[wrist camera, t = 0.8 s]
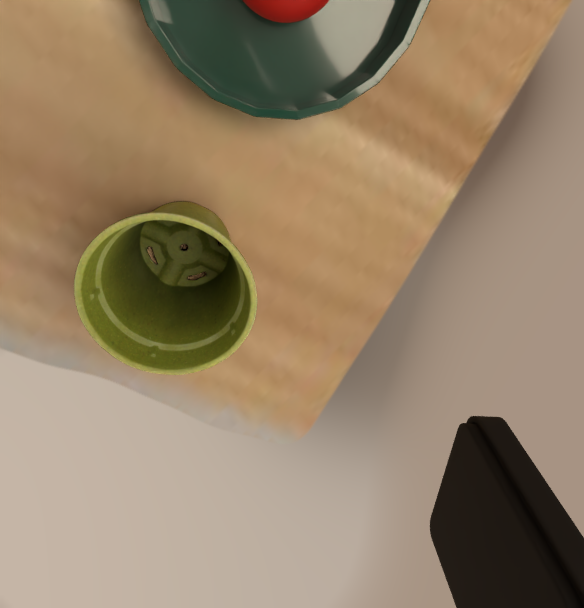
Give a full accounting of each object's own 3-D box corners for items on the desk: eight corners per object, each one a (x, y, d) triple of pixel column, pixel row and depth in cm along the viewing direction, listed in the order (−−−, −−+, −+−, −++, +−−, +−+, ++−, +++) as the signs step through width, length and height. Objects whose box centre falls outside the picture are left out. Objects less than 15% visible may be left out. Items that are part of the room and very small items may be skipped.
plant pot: (226, 154, 32) (217, 188, 24) (274, 283, 36) (279, 347, 28) (89, 201, 33) (38, 248, 25) (152, 322, 37) (124, 395, 29)
